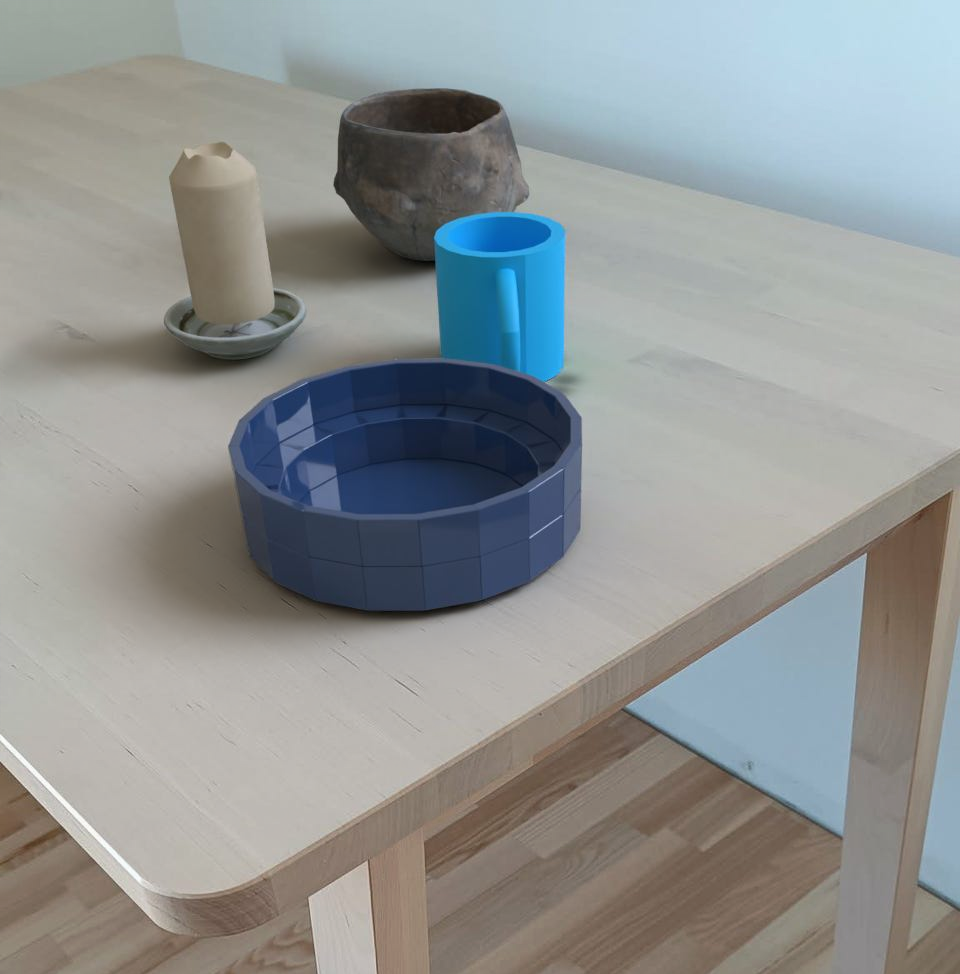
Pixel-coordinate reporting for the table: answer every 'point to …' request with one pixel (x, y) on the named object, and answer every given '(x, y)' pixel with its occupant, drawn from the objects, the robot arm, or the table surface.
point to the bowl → (425, 164)
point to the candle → (222, 234)
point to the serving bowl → (409, 482)
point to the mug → (502, 291)
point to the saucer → (236, 328)
